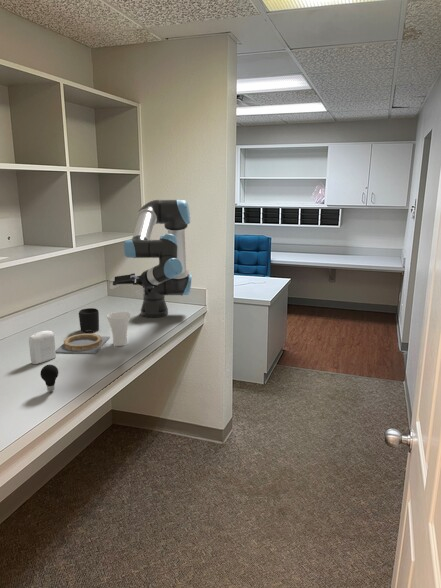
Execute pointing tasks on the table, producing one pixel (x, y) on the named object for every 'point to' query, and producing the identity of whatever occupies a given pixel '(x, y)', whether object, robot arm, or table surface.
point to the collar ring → (85, 346)
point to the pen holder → (89, 320)
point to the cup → (119, 327)
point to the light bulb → (49, 376)
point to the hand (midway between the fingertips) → (123, 290)
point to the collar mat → (82, 342)
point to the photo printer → (42, 347)
